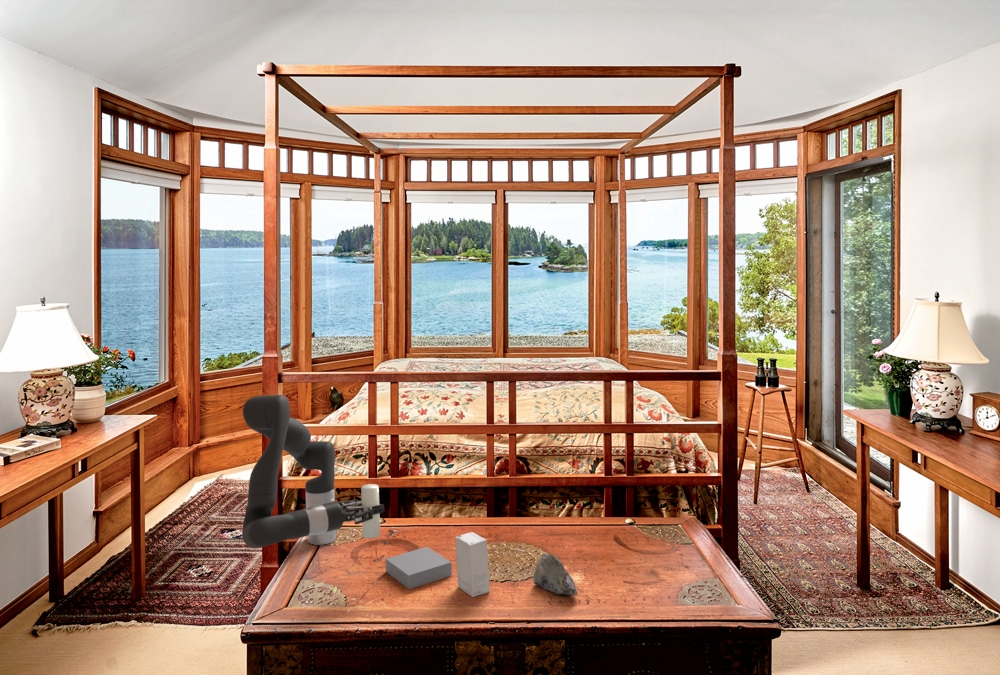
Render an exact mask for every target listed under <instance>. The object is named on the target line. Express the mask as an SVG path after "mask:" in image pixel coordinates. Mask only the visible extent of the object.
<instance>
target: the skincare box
mask: <svg viewBox="0 0 1000 675" xmlns="http://www.w3.org/2000/svg"><path fill="white" fill-rule="evenodd" d="M488 553H489V552H488V540H487V539H486V538H484V537H482V536H481V535H479V534H477V533H475V532H474V531H471V532H467V533H464V534H461V535H458V536H455V554H456V567H457V568H456V570H457V571H456V572H457V586H458V588H459V589H460V590H462V591H463V592H464V593H466V594H467V595H469V596H470V597H472V598H475V597H477V596H481V595H485V594H487V593H490V591H491V590H490V589H491V588H490V571H489V557H488V556H489V555H488Z"/></svg>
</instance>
